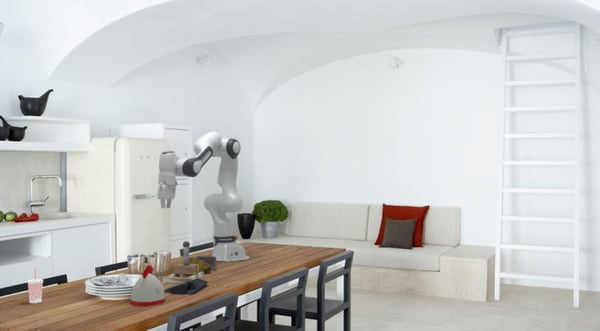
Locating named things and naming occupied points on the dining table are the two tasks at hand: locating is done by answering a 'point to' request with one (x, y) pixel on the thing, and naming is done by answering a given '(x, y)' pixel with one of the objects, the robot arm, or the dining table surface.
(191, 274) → the wooden knobbed block
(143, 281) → the grey and red dome
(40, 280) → the beverage cup
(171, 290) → the dark slate chunk
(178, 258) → the dining table surface
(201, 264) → the olive green rounded lump
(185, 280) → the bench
